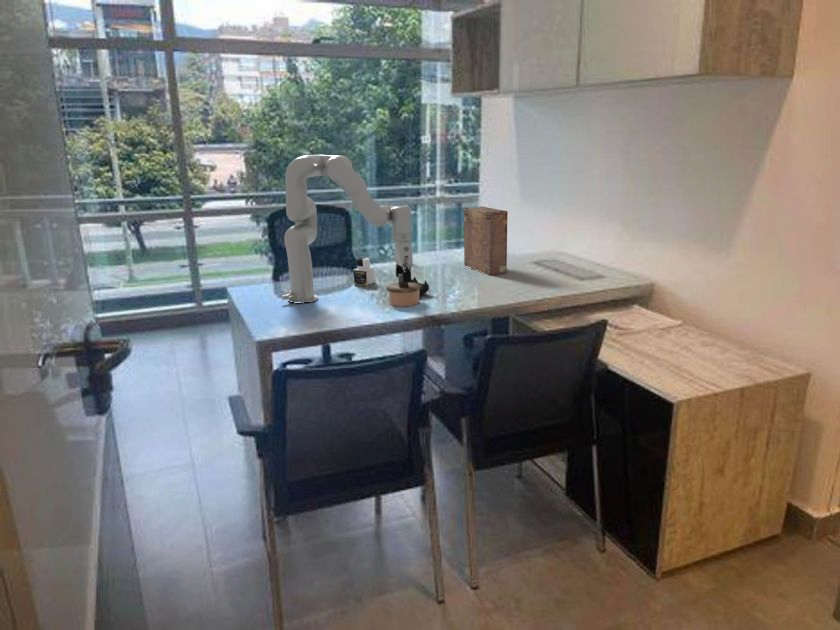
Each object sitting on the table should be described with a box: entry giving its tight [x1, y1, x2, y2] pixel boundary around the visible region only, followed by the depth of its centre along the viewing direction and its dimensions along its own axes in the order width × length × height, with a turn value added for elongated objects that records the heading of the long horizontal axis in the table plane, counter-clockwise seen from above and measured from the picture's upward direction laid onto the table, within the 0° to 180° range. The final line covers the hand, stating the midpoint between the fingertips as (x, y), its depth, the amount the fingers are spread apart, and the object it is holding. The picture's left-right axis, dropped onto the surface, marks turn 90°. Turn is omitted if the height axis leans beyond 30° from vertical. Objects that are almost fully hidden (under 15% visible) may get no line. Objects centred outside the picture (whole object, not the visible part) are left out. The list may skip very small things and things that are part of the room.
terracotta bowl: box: [388, 290, 420, 308], centre depth 255 cm, size 12×12×6 cm
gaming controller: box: [408, 276, 430, 298], centre depth 269 cm, size 17×6×10 cm
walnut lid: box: [385, 273, 421, 293], centre depth 254 cm, size 14×14×6 cm
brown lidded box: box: [463, 205, 509, 276], centre depth 307 cm, size 25×9×30 cm, turn 26°
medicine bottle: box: [352, 256, 376, 286], centre depth 289 cm, size 7×7×12 cm
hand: (403, 279), depth 253 cm, fingers open, 9 cm apart
